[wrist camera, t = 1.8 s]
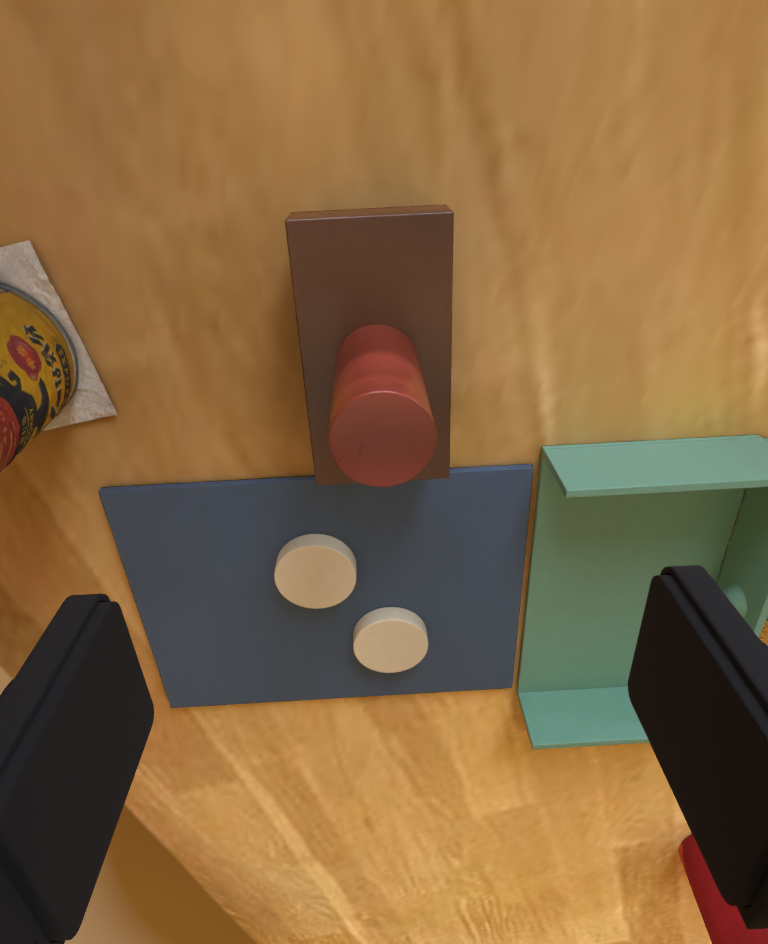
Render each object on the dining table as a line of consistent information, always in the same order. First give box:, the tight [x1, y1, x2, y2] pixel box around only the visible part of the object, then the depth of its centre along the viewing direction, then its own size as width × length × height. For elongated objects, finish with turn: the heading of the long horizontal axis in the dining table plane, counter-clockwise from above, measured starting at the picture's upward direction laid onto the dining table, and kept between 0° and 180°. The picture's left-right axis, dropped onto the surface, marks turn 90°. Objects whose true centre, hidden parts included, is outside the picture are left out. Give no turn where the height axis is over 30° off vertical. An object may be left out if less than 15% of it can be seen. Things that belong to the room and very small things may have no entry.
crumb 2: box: [353, 607, 428, 673], centre depth 32 cm, size 4×4×1 cm
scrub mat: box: [99, 464, 533, 708], centre depth 32 cm, size 15×20×1 cm
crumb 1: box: [274, 534, 356, 609], centre depth 30 cm, size 4×4×1 cm
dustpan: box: [516, 435, 768, 749], centre depth 30 cm, size 20×17×4 cm
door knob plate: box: [285, 205, 454, 487], centre depth 21 cm, size 10×5×9 cm, turn 2°
